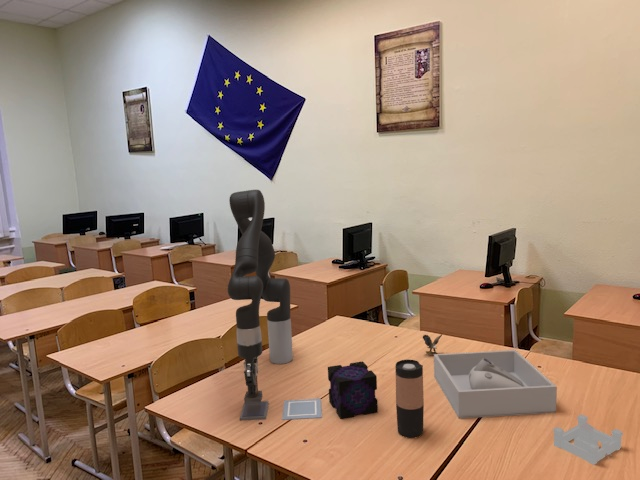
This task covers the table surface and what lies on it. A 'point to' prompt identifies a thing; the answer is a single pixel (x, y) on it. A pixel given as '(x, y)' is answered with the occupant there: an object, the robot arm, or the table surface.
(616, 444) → the castle model
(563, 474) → the table surface
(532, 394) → the grey open tray
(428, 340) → the eagle figurine
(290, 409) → the mat
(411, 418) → the travel mug
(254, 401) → the stamp
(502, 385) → the grey curved piece
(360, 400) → the energy cube
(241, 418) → the pad
